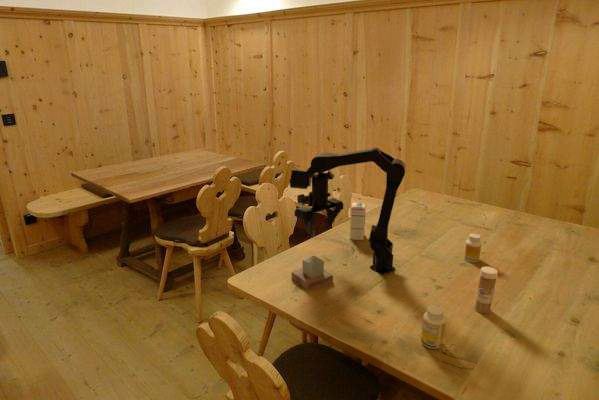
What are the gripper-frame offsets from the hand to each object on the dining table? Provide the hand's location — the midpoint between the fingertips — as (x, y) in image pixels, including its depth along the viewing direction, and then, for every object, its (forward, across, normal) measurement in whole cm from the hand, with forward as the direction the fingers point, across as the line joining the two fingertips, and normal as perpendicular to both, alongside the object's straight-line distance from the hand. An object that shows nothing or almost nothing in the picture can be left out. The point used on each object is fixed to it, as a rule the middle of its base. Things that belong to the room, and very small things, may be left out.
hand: (319, 231), depth 146 cm
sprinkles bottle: (+12, -17, +54) cm, 58 cm away
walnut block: (+12, +11, +9) cm, 19 cm away
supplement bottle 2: (+12, -45, +35) cm, 58 cm away
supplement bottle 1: (+12, +8, +53) cm, 55 cm away
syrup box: (+12, -27, -6) cm, 30 cm away
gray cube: (+10, +11, +9) cm, 17 cm away
